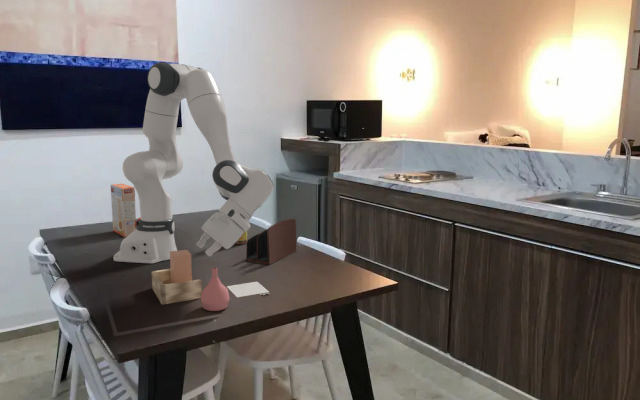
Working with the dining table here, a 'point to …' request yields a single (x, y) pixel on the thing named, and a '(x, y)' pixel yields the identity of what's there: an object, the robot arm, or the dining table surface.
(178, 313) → the dining table surface
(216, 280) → the pink vase
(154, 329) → the dining table surface
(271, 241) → the letter holder
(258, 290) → the coaster
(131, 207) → the cracker box
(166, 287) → the crate
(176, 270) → the block
